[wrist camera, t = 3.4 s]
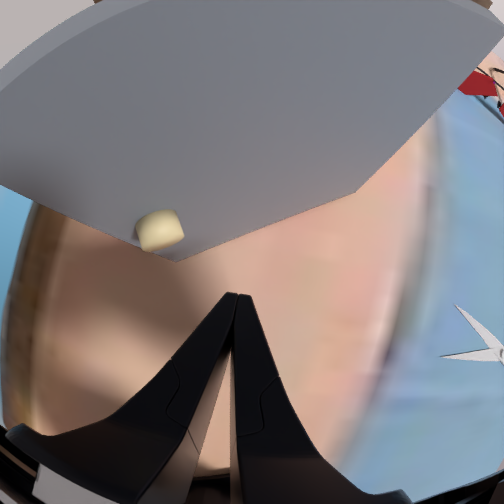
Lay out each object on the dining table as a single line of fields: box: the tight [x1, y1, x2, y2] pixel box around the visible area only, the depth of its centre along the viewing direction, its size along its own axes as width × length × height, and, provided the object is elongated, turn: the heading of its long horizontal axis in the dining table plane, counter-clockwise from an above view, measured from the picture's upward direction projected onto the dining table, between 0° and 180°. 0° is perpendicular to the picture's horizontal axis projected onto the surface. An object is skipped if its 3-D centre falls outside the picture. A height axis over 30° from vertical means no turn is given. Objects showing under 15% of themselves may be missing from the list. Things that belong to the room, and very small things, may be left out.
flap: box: [0, 0, 504, 262], centre depth 9 cm, size 2×12×14 cm, turn 112°
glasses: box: [458, 67, 504, 117], centre depth 18 cm, size 14×16×5 cm
